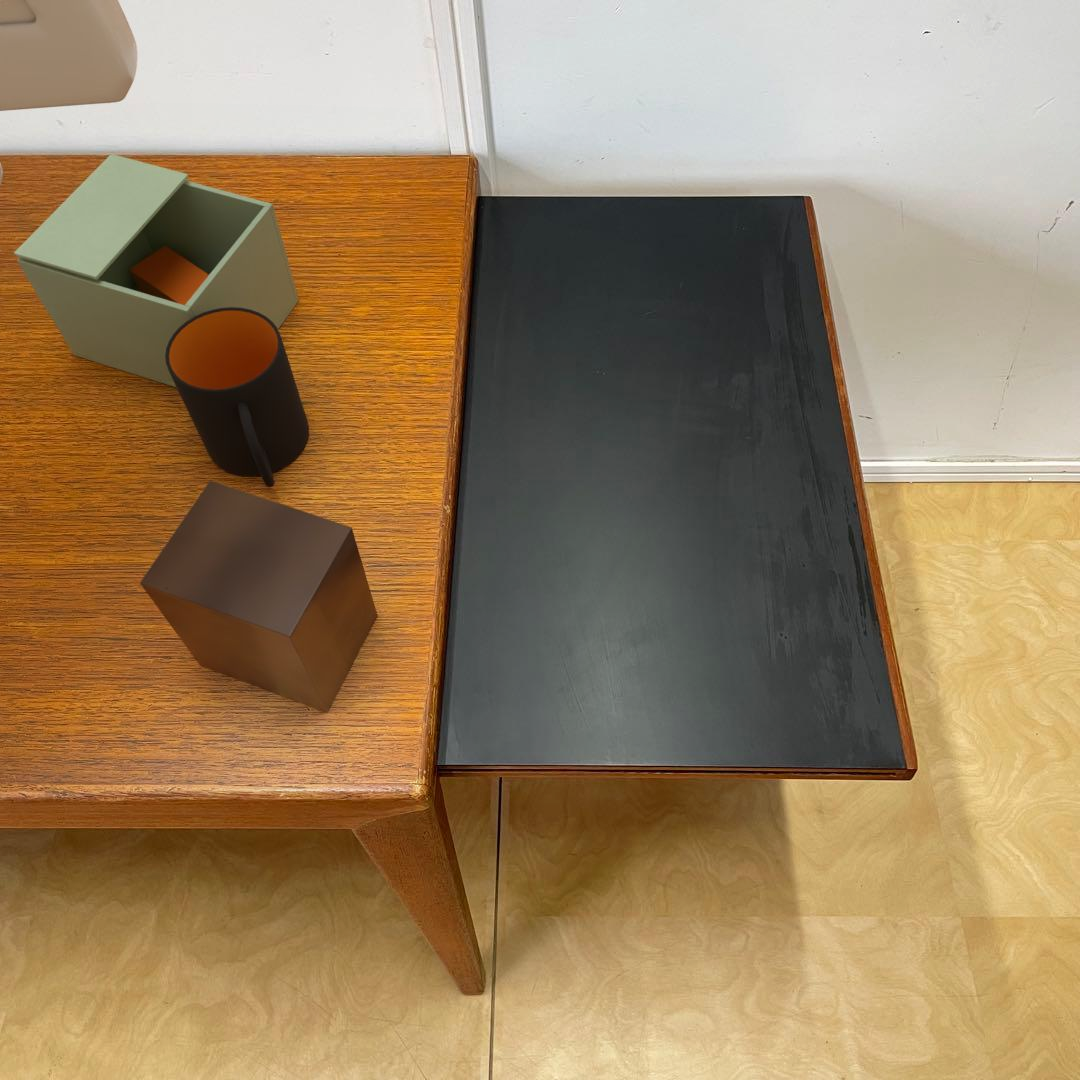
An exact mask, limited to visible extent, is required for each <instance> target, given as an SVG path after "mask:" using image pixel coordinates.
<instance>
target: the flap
mask: <svg viewBox="0 0 1080 1080" xmlns="http://www.w3.org/2000/svg"><path fill="white" fill-rule="evenodd" d="M189 177H190V176H189V174H188V173H185V172H182V171H179V170H178V171H177V170H173V169H171V168H166V167H163V166H160V165H159V166H158V165H155V164H151V163H148V162H145V161H140V160H136V159H132V158H128V157H124V156H121V155H117V154H113V153H110V154H109V155H108V156H107V157H106V159H105V160H103V162H102V163H101V164H99V166H98V167H97V168H96V169H95V170H94V171H92V172H91V174H90V175H88V177H86V179H85V180H84V181H83V182H82V183H81V184H80V185H79V186H78V187H77V188H76V189H75V190H74V191H72V193H71V194H70V195H69V196H68V197H67V198H66V199H65V200H64V201H63V202H62V203H61V204H60V205H59V206H58V207H57V208H56V209H55V210H54V211H53V212H52V213H51V214H50V215H49V216H48V218H46V219H45V221H43V222H42V224H40V226H39V227H37V228H36V230H35V231H34V232H32V234H31V235H30V236H29V237H28V238H27V239H26V240H25V241H23V243H22V244H21V245H20V246H19V247H18V248H16V250H15V251H13V254H14V256H15V257H18V258H20V257H21V258H24V259H28V260H31V261H35V262H38V263H41V264H45V265H48V266H52V267H55V268H59V269H62V270H65V271H69V272H72V273H76V274H79V275H82V276H86V277H89V278H93V279H96V280H98V278H99V277H100V276H101V275H102V274H103V273H104V272H105V271H106V269H107V268H108V267H109V266H110V265H111V264H112V263H113V262H114V260H115V259H116V258H117V257H118V256H119V255H120V254H121V253H122V252H123V250H124V249H125V248H126V247H127V246H128V245H129V244H130V243H131V241H132V240H133V239H134V238H135V237H136V236H137V235H138V234H139V232H140V231H141V230H142V229H143V228H144V227H145V226H146V225H147V224H148V222H149V221H150V220H151V219H152V218H153V217H154V216H155V215H156V213H157V212H158V211H159V210H160V209H161V208H162V207H163V206H164V205H165V203H166V202H167V201H168V200H169V199H170V198H171V197H172V196H173V194H174V193H175V192H176V191H177V190H178V189H179V188H180V187H181V185H182V184H183V183H184V182H185V181H188V179H189Z"/></svg>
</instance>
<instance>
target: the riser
mask: <svg viewBox="0 0 1080 1080" xmlns="http://www.w3.org/2000/svg"><path fill="white" fill-rule="evenodd" d="M139 584H140V585H141V587H142V588H143V590H144V591H145V592H146V594H147V595H148V597H149V598H150V599H151V601H152V602H153V603H154V604H155V606H156V607H157V609H158V610H159V612H160V613H161V615H162V616H163V617H164V618H165V619H166V621H167V622H168V623H169V625H170V626H171V628H172V629H173V631H174V632H175V633H176V634H177V636H178V638H180V641H182V643H183V644H184V646H185V648H187V650H188V651H189V653H190V654H191V655H192V657H193V658H194V659H195V660H196V662H197V663H198V665H199V666H201V667H203V668H206V669H209V670H212V671H214V672H217V673H220V674H223V675H225V676H227V677H229V678H233V679H236V680H238V681H241V682H243V683H246V684H249V685H252V686H255V687H257V688H260V689H262V690H265V691H268V692H271V693H273V694H276V695H279V696H281V697H284V698H287V699H289V700H292V701H295V702H298V703H300V704H302V705H306V706H309V707H311V708H313V709H317V710H319V711H322V712H324V713H329V710H330V708H331V706H332V704H333V703H334V701H335V699H336V697H337V695H338V693H339V691H340V689H341V687H342V685H343V683H344V681H345V679H346V678H347V676H348V674H349V671H350V670H351V667H352V666H353V664H354V662H355V661H356V658H357V656H358V654H359V653H360V650H361V648H362V646H363V644H365V641H366V639H367V637H368V635H369V633H370V631H371V629H372V627H373V626H374V623H375V622H376V619H377V618H378V612H377V608H376V605H375V601H374V599H373V595H372V592H371V587H370V584H369V581H368V577H367V575H366V571H365V568H364V565H363V561H362V558H361V554H360V550H359V547H358V543H357V541H356V537H355V534H354V531H353V528H352V527H351V526H349V525H346V524H343V523H340V522H337V521H333V520H331V519H329V518H325V517H322V516H319V515H316V514H313V513H309V512H307V511H304V510H301V509H298V508H294V507H291V506H289V505H286V504H283V503H280V502H277V501H273V500H271V499H267V498H264V497H262V496H258V495H255V494H252V493H249V492H246V491H244V490H242V489H241V490H240V489H237V488H235V487H232V486H228V485H226V484H222V483H219V482H217V481H213V480H209V481H208V483H207V484H206V485H205V487H204V488H203V490H202V491H201V493H200V494H199V496H198V497H197V499H196V500H195V501H194V503H193V505H192V506H191V507H190V509H189V510H188V511H187V513H186V515H185V516H184V517H183V519H182V521H181V522H180V524H179V525H178V526H177V528H176V529H175V531H174V532H173V534H172V535H171V537H170V538H169V540H168V541H167V543H165V545H164V547H163V548H162V550H161V551H160V553H159V554H158V555H157V557H156V558H155V560H154V562H153V563H152V564H151V566H149V568H148V570H147V572H146V573H145V574H144V576H143V577H142V579H141V580H140V583H139Z"/></svg>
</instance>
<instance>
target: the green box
mask: <svg viewBox="0 0 1080 1080" xmlns="http://www.w3.org/2000/svg"><path fill="white" fill-rule="evenodd" d="M164 246H167V247H168V248H170V249H171V250H173V251H174V252H176V253H177V254H179V255H180V256H182V257H183V258H185V259H186V260H188V261H189V262H191V263H192V264H194V265H195V266H197V267H198V268H200V269H201V270H203V271H204V272H206V273H207V274H209V276H208V277H207V278H206V280H205V281H204V282H203V283H202V284H201V286H200V287H199V288H198V289H197V291H196V292H195V293H194V294H193V296H192V297H191V298H190V299H189V301H188V302H187V303H186V304H185V305H182V304H178V303H175V302H172V301H168V300H165V299H162V298H158V297H155V296H152V295H148V294H145V293H141V292H140V291H139V289H138V287H137V285H136V282H135V280H134V278H133V276H132V274H131V272H130V269H131V268H132V267H134V266H135V265H137V264H138V263H140V262H141V261H143V260H144V259H146V258H147V257H149V256H150V255H152V254H153V253H155V252H156V251H158V250H159V249H161V248H162V247H164ZM16 262H17V263H18V265H19V267H20V269H21V270H22V272H23V273H24V275H25V277H26V278H27V280H28V281H29V283H30V286H32V288H33V290H34V291H35V293H36V295H37V296H38V299H39V300H40V302H41V304H42V305H43V307H44V308H45V310H46V311H47V314H48V315H49V317H50V318H51V320H52V322H53V323H54V325H55V327H56V328H57V330H58V332H59V334H60V336H62V338H63V340H64V342H65V343H66V345H67V347H68V348H69V350H70V351H71V353H72V355H73V356H75V357H78V358H81V359H85V360H87V361H90V362H94V363H98V364H100V365H104V366H107V367H110V368H113V369H116V370H120V371H122V372H126V373H128V374H132V375H135V376H139V377H142V378H145V379H149V380H151V381H154V382H158V383H161V384H163V385H166V386H167V385H168V386H171V387H173V388H176V389H177V387H176V385H175V383H174V381H173V379H172V377H171V375H170V372H169V370H168V368H167V365H166V359H165V353H166V348H167V345H168V342H169V340H170V339H171V337H172V335H173V334H174V333H175V332H176V330H177V329H178V328H179V327H180V326H181V325H183V324H184V323H185V322H186V321H188V320H190V319H191V318H193V317H195V316H197V315H199V314H201V313H203V312H207V311H210V310H213V309H219V308H227V307H237V308H245V309H250V310H253V311H256V312H259V313H261V314H263V315H264V316H266V317H267V318H269V319H270V320H271V321H272V322H273V323H274V324H275V326H276V327H277V328H278V330H279V329H280V327H281V326H282V325H283V324H284V322H285V321H286V319H287V318H288V317H289V315H290V314H291V313H292V311H293V310H294V308H295V307H296V305H297V304H298V302H299V301H300V299H299V295H298V291H297V286H296V283H295V279H294V276H293V272H292V269H291V265H290V262H289V258H288V256H287V250H286V248H285V244H284V239H283V237H282V233H281V229H280V225H279V222H278V218H277V214H276V212H275V208H274V204H273V203H271V202H268V201H264V200H260V199H256V198H252V197H249V196H245V195H242V194H237V193H234V192H230V191H227V190H222V189H220V188H216V187H213V186H208V185H204V184H200V183H197V182H194V181H190V180H186V181H185V182H184V183H183V184H182V185H181V187H180V188H179V189H178V190H177V191H176V192H175V193H174V194H173V196H172V197H171V198H170V199H169V200H168V201H167V202H166V203H165V205H164V206H163V207H162V208H161V209H160V210H159V211H158V212H157V213H156V215H155V216H154V217H153V218H152V219H151V220H150V221H149V222H148V224H147V225H146V226H145V227H144V228H143V229H142V230H141V231H140V232H139V234H138V235H137V236H136V237H135V238H134V239H133V240H132V241H131V243H130V244H129V245H128V246H127V247H126V248H125V249H124V250H123V252H122V253H121V254H120V255H119V256H118V257H117V258H116V259H115V260H114V262H113V263H112V264H111V265H110V266H109V267H108V268H107V269H106V271H105V272H104V273H103V274H102V275H101V276H100V277H99V278H98V280H96V279H93V278H89V277H86V276H82V275H79V274H76V273H72V272H69V271H65V270H62V269H59V268H55V267H52V266H48V265H45V264H41V263H38V262H35V261H31V260H28V259H24V258H21V257H18V258H17V260H16Z"/></svg>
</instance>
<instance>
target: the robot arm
mask: <svg viewBox="0 0 1080 1080" xmlns="http://www.w3.org/2000/svg"><path fill="white" fill-rule="evenodd" d="M137 68H138V46H137V42H136V39H135V36H134V34H133V31H132V28H131V26H130V24H129V21H128V19H127V17H126V15H125V12H124V10H123V8H122V6H121V4H120V1H119V0H0V112H6V111H18V110H19V111H20V110H32V109H46V108H58V107H60V108H61V107H70V106H72V107H73V106H85V105H99V104H100V105H101V104H112V103H119V102H122V101H123V100H124V99H126V97H127V95H128V93H129V91H130V90H131V88H132V85H133V83H134V81H135V77H136V74H137ZM3 177H4V170H3V166H2V163H1V162H0V187H2V186H1V185H2V182H3Z"/></svg>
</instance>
